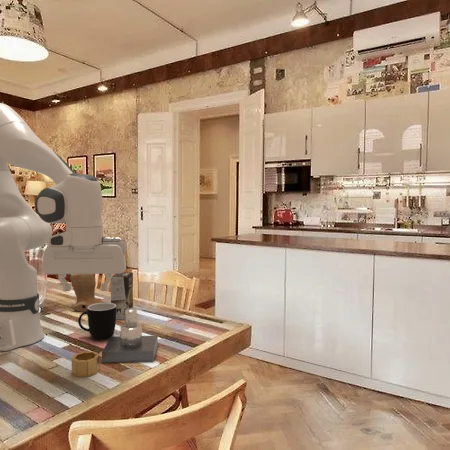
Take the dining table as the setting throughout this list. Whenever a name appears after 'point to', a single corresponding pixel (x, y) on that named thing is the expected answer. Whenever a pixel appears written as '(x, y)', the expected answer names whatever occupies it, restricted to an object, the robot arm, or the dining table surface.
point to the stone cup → (84, 291)
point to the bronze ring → (85, 364)
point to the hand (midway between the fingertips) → (86, 290)
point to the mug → (100, 320)
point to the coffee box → (122, 293)
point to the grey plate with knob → (130, 343)
